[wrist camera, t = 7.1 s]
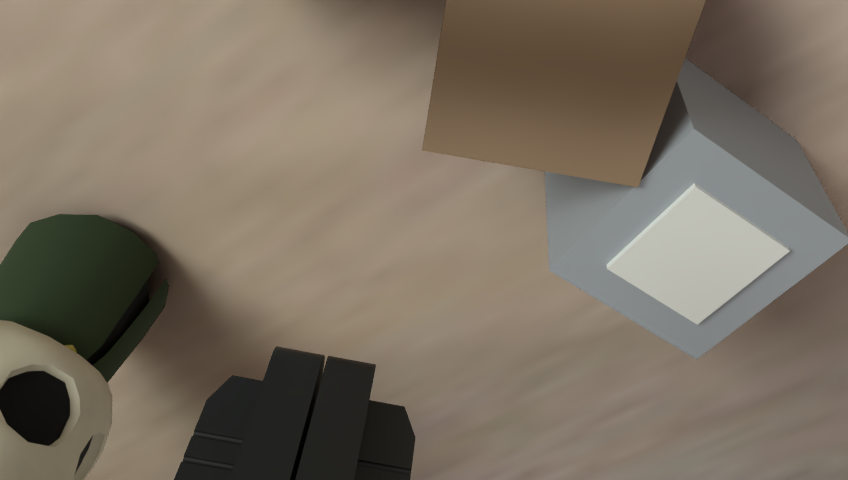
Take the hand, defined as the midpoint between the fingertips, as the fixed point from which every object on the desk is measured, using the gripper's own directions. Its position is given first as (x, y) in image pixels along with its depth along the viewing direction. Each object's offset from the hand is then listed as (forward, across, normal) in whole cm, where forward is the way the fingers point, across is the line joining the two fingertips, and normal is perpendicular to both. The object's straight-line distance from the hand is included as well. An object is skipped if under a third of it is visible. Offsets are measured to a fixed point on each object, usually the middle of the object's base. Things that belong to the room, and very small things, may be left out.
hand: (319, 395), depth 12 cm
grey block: (+17, -9, +3) cm, 20 cm away
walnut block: (+17, -4, -2) cm, 17 cm away
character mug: (+17, +11, +14) cm, 25 cm away
